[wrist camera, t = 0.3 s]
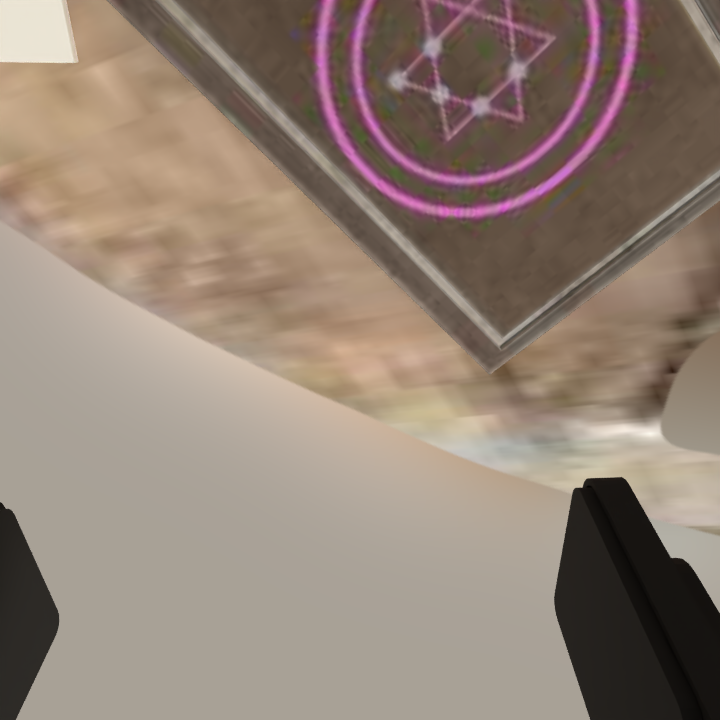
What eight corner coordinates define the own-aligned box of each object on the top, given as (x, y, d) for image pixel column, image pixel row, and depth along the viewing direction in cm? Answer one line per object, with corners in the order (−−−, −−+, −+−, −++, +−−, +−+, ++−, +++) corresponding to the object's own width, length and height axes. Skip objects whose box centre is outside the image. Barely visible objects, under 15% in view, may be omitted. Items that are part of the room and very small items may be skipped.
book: (118, -19, 33) (82, -23, 28) (434, -468, 25) (451, -568, 20) (476, 339, 44) (489, 375, 39) (771, 106, 36) (827, 120, 32)
